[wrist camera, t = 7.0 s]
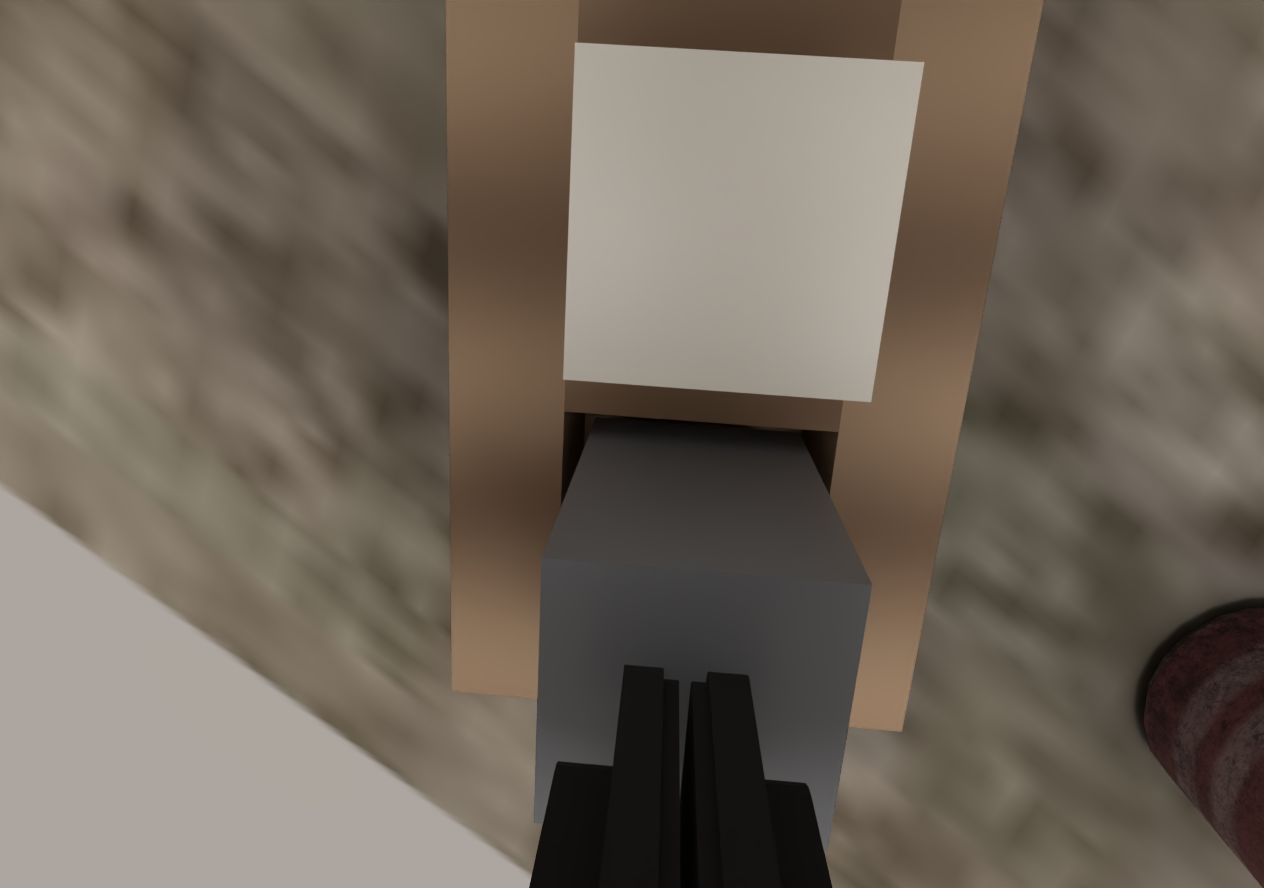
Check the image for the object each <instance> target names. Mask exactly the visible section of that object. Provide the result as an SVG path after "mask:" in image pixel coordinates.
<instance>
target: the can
mask: <svg viewBox="0 0 1264 888" xmlns="http://www.w3.org/2000/svg"><path fill="white" fill-rule="evenodd" d="M1144 726H1145V730H1146V734H1147V739H1148V743H1149V747H1150V750H1151V752H1152V753H1153V754H1154V756H1155V757H1156V758H1157V760H1158V761H1159V762H1160V764H1161V765H1162V766H1163V768H1164V769H1165V771H1166V772H1167V773H1168V774H1169V776H1170V777H1171V778H1172V779H1173V780H1174V782H1175V783H1176V784H1177V785H1178V786H1179V788H1180V789H1181V790H1182V791H1183V792H1184V794H1185V795H1186V796H1187V797H1188V798H1189V800H1190V801H1191V802H1192V803H1193V804H1194V806H1195V807H1196V808H1197V809H1198V810H1199V812H1200V813H1201V814H1202V815H1203V816H1204V818H1205V819H1206V820H1207V821H1208V823H1209V824H1210V825H1211V826H1212V827H1213V829H1214V830H1215V831H1216V832H1217V833H1218V835H1219V836H1220V837H1221V838H1222V839H1223V841H1224V842H1225V843H1226V844H1227V845H1228V847H1229V848H1230V849H1231V850H1232V851H1233V853H1234V854H1235V855H1236V856H1237V857H1238V859H1239V860H1240V861H1241V862H1242V863H1243V865H1244V866H1245V867H1246V868H1247V869H1248V871H1249V872H1250V873H1251V874H1252V875H1253V877H1254V878H1255V879H1256V880H1257V881H1258V883H1259V884H1260V885H1261V886H1262V887H1263V888H1264V607H1263V608H1247V609H1243V610H1239V611H1236V612H1232V613H1229V614H1225V615H1221V616H1218V617H1215V618H1213V619H1211V620H1210V621H1208V622H1206V623H1204V624H1202V625H1201V626H1199V627H1197V628H1195V629H1194V630H1192V631H1190V632H1188V633H1187V634H1185V635H1184V636H1183V637H1182V638H1181V639H1180V640H1179V641H1178V642H1177V643H1176V644H1175V645H1174V646H1173V647H1172V648H1171V649H1170V650H1169V651H1168V652H1167V653H1166V654H1165V655H1164V656H1163V657H1162V659H1161V661H1160V663H1159V665H1158V667H1157V668H1156V670H1155V672H1154V674H1153V676H1152V677H1151V679H1150V681H1149V686H1148V692H1147V698H1146V705H1145V713H1144Z"/></svg>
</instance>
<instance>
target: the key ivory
mask: <svg viewBox="0 0 1264 888" xmlns="http://www.w3.org/2000/svg"><path fill="white" fill-rule="evenodd" d="M923 68H924V62H912V61H894V60H877V59H859V58H841V57H824V56H806V55H788V54H771V53H753V52H735V51H718V50H700V49H682V48H665V47H647V46H629V45H612V44H594V43H576V42H575V54H574V83H573V111H572V139H571V168H570V196H569V225H568V253H567V281H566V310H565V338H564V366H563V380H575V381H589V382H603V383H616V384H630V385H643V386H657V387H670V388H684V389H698V390H711V391H725V392H738V393H752V394H765V395H779V396H792V397H806V398H820V399H833V400H847V401H860V402H871V400H872V393H873V387H874V381H875V374H876V368H877V361H878V355H879V349H880V342H881V336H882V330H883V323H884V317H885V310H886V304H887V298H888V291H889V285H890V279H891V272H892V266H893V259H894V253H895V247H896V240H897V234H898V228H899V221H900V215H901V209H902V202H903V196H904V189H905V183H906V177H907V170H908V164H909V158H910V151H911V145H912V138H913V132H914V126H915V119H916V113H917V107H918V100H919V94H920V87H921V81H922V75H923Z"/></svg>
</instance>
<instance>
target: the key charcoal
mask: <svg viewBox="0 0 1264 888" xmlns="http://www.w3.org/2000/svg"><path fill="white" fill-rule="evenodd" d="M871 591H872V583H871V581H870V579H869V577H868V575H867V573H866V570H865V568H864V566H863V564H862V562H861V560H860V558H859V556H858V554H857V552H856V550H855V548H854V545H853V543H852V541H851V539H850V537H849V535H848V533H847V531H846V529H845V527H844V525H843V523H842V520H841V518H840V516H839V514H838V512H837V510H836V508H835V506H834V504H833V502H832V500H831V498H830V495H829V493H828V491H827V489H826V487H825V485H824V483H823V481H822V479H821V477H820V475H819V473H818V470H817V468H816V466H815V464H814V462H813V460H812V458H811V456H810V454H809V452H808V450H807V448H806V445H805V443H804V441H803V439H802V437H801V435H800V433H798V432H785V431H771V430H758V429H745V428H732V427H718V426H705V425H692V424H679V423H665V422H652V421H639V420H626V419H612V418H599V417H596V418H595V421H594V424H593V426H592V429H591V431H590V434H589V437H588V439H587V442H586V444H585V447H584V449H583V452H582V455H581V457H580V460H579V462H578V465H577V467H576V470H575V473H574V475H573V478H572V480H571V483H570V485H569V488H568V491H567V493H566V496H565V498H564V501H563V503H562V506H561V509H560V511H559V514H558V516H557V519H556V521H555V524H554V527H553V529H552V532H551V534H550V537H549V540H548V542H547V545H546V547H545V550H544V552H543V555H542V558H541V590H540V625H539V660H538V694H537V729H536V764H535V798H534V823H543V821H544V817H545V812H546V807H547V803H548V798H549V793H550V789H551V784H552V779H553V775H554V771H555V767H556V764H557V762H558V761H562V762H573V763H584V764H596V765H607V766H613V760H614V751H615V742H616V733H617V724H618V715H619V707H620V698H621V689H622V680H623V671H624V664H625V665H636V666H648V667H660V668H664V679H672V680H679V748H680V791H681V780H682V770H683V759H684V749H685V738H686V728H687V718H688V707H689V697H690V687H691V682H692V681H696V682H706V677H707V673H708V672H720V673H732V674H744V675H748V676H749V679H750V685H751V692H752V698H753V705H754V711H755V718H756V724H757V731H758V737H759V744H760V750H761V757H762V764H763V770H764V777H765V779H767V780H778V781H789V782H801V783H806V784H807V786H808V787H809V790H810V793H811V796H812V801H813V805H814V810H815V814H816V818H817V823H818V827H819V832H820V836H821V840H822V845H823V849H824V851H827V850H828V845H829V839H830V833H831V827H832V821H833V815H834V809H835V803H836V797H837V792H838V786H839V780H840V774H841V768H842V762H843V756H844V750H845V744H846V739H847V733H848V727H849V721H850V715H851V709H852V703H853V697H854V691H855V686H856V680H857V674H858V668H859V662H860V656H861V650H862V644H863V638H864V632H865V627H866V621H867V615H868V609H869V603H870V597H871Z"/></svg>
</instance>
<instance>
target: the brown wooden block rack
mask: <svg viewBox="0 0 1264 888" xmlns="http://www.w3.org/2000/svg"><path fill="white" fill-rule="evenodd" d="M1043 2H1044V0H446V90H447V199H448V307H449V416H450V524H451V633H452V691H456V692H467V693H478V694H489V695H500V696H511V697H522V698H534V699H537V694H538V660H539V625H540V590H541V558H542V555H543V552H544V550H545V547H546V545H547V542H548V540H549V537H550V534H551V532H552V529H553V527H554V524H555V521H556V519H557V516H558V514H559V511H560V509H561V506H562V503H563V501H564V498H565V496H566V493H567V491H568V488H569V485H570V483H571V480H572V478H573V475H574V473H575V470H576V467H577V465H578V462H579V460H580V457H581V455H582V452H583V449H584V447H585V444H586V442H587V439H588V437H589V434H590V431H591V429H592V426H593V424H594V421H595V418H596V417H599V418H612V419H626V420H639V421H652V422H665V423H679V424H692V425H705V426H718V427H732V428H745V429H758V430H771V431H785V432H798V433H800V435H801V437H802V439H803V441H804V443H805V445H806V448H807V450H808V452H809V454H810V456H811V458H812V460H813V462H814V464H815V466H816V468H817V470H818V473H819V475H820V477H821V479H822V481H823V483H824V485H825V487H826V489H827V491H828V493H829V495H830V498H831V500H832V502H833V504H834V506H835V508H836V510H837V512H838V514H839V516H840V518H841V520H842V523H843V525H844V527H845V529H846V531H847V533H848V535H849V537H850V539H851V541H852V543H853V545H854V548H855V550H856V552H857V554H858V556H859V558H860V560H861V562H862V564H863V566H864V568H865V570H866V573H867V575H868V577H869V579H870V581H871V583H872V591H871V597H870V603H869V609H868V615H867V621H866V627H865V632H864V638H863V644H862V650H861V656H860V662H859V668H858V674H857V680H856V686H855V691H854V697H853V703H852V709H851V715H850V721H849V727H856V728H867V729H878V730H889V731H900V732H902V728H903V723H904V718H905V712H906V707H907V702H908V697H909V692H910V687H911V682H912V676H913V671H914V666H915V661H916V656H917V651H918V646H919V640H920V635H921V630H922V625H923V620H924V615H925V610H926V604H927V599H928V594H929V589H930V584H931V579H932V573H933V568H934V563H935V558H936V553H937V548H938V543H939V537H940V532H941V527H942V522H943V517H944V512H945V507H946V501H947V496H948V491H949V486H950V481H951V476H952V471H953V465H954V460H955V455H956V450H957V445H958V440H959V434H960V429H961V424H962V419H963V414H964V409H965V404H966V398H967V393H968V388H969V383H970V378H971V373H972V368H973V362H974V357H975V352H976V347H977V342H978V337H979V332H980V326H981V321H982V316H983V311H984V306H985V301H986V295H987V290H988V285H989V280H990V275H991V270H992V265H993V259H994V254H995V249H996V244H997V239H998V234H999V229H1000V223H1001V218H1002V213H1003V208H1004V203H1005V198H1006V193H1007V187H1008V182H1009V177H1010V172H1011V167H1012V162H1013V156H1014V151H1015V146H1016V141H1017V136H1018V131H1019V126H1020V120H1021V115H1022V110H1023V105H1024V100H1025V95H1026V90H1027V84H1028V79H1029V74H1030V69H1031V64H1032V59H1033V54H1034V48H1035V43H1036V38H1037V33H1038V28H1039V23H1040V17H1041V12H1042V7H1043ZM575 42H576V43H594V44H612V45H629V46H647V47H665V48H682V49H700V50H718V51H735V52H753V53H771V54H788V55H806V56H824V57H841V58H859V59H877V60H894V61H912V62H924V68H923V75H922V81H921V87H920V94H919V100H918V107H917V113H916V119H915V126H914V132H913V138H912V145H911V151H910V158H909V164H908V170H907V177H906V183H905V189H904V196H903V202H902V209H901V215H900V221H899V228H898V234H897V240H896V247H895V253H894V259H893V266H892V272H891V279H890V285H889V291H888V298H887V304H886V310H885V317H884V323H883V330H882V336H881V342H880V349H879V355H878V361H877V368H876V374H875V381H874V387H873V393H872V400H871V402H860V401H847V400H833V399H820V398H806V397H792V396H779V395H765V394H752V393H738V392H725V391H711V390H698V389H684V388H670V387H657V386H643V385H630V384H616V383H603V382H589V381H575V380H563V366H564V338H565V310H566V281H567V253H568V225H569V196H570V168H571V139H572V111H573V83H574V54H575Z"/></svg>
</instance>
